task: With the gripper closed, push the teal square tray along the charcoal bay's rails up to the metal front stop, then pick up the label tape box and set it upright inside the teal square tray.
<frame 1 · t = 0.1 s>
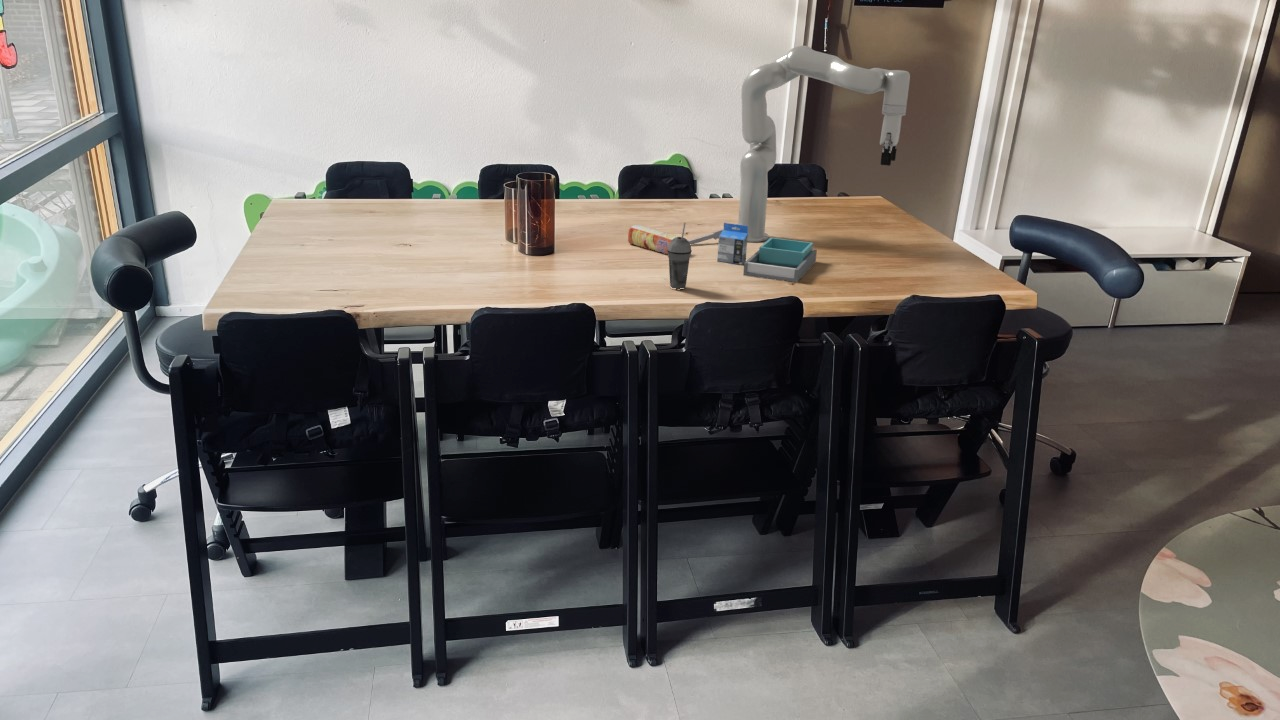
hand: (887, 162, 330), 31 cm above the table, tool pointing down, fingers open, 9 cm apart
teal square tray: (786, 252, 325), point 4 cm above the table, slide at 0.0 cm
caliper: (705, 244, 348), on the table
label tape box: (731, 262, 327), on the table
bay: (780, 268, 321), on the table
beverage cup: (677, 288, 299), on the table
snack package: (655, 250, 339), on the table
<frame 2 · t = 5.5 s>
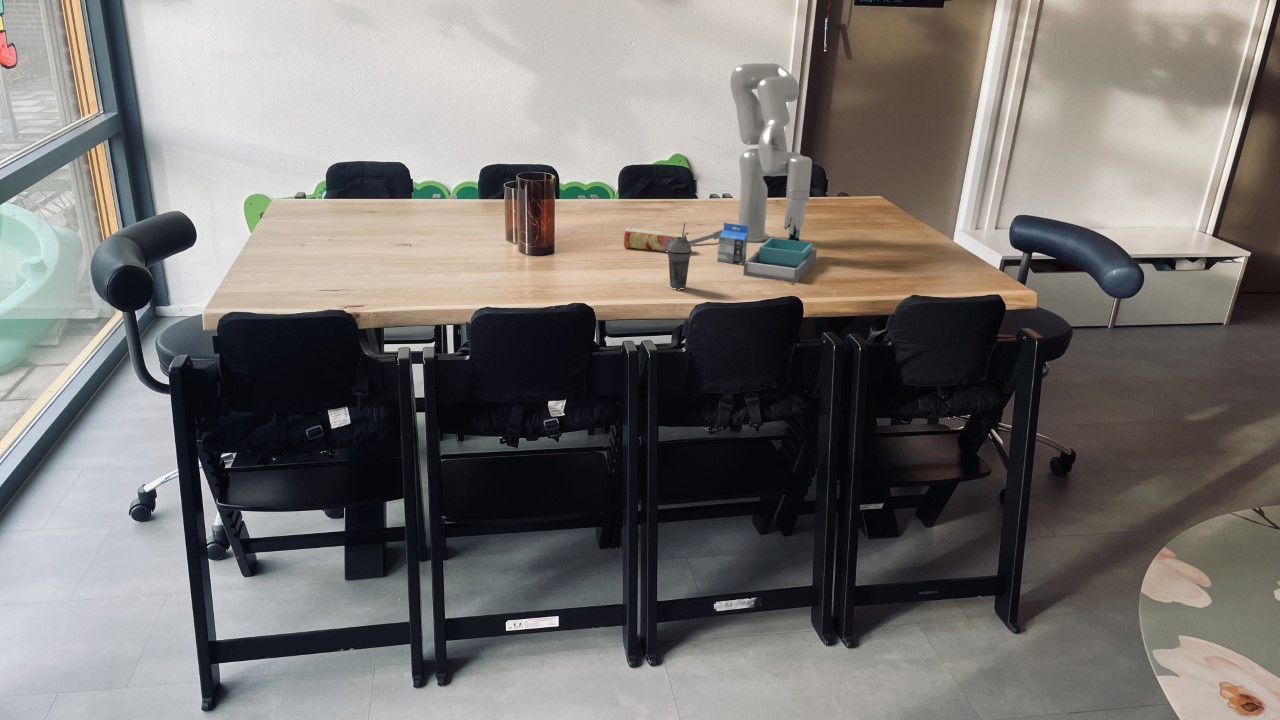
hand: (793, 248, 334), 3 cm above the table, tool pointing down, fingers closed
teal square tray: (786, 252, 325), point 4 cm above the table, slide at 0.0 cm, touching gripper
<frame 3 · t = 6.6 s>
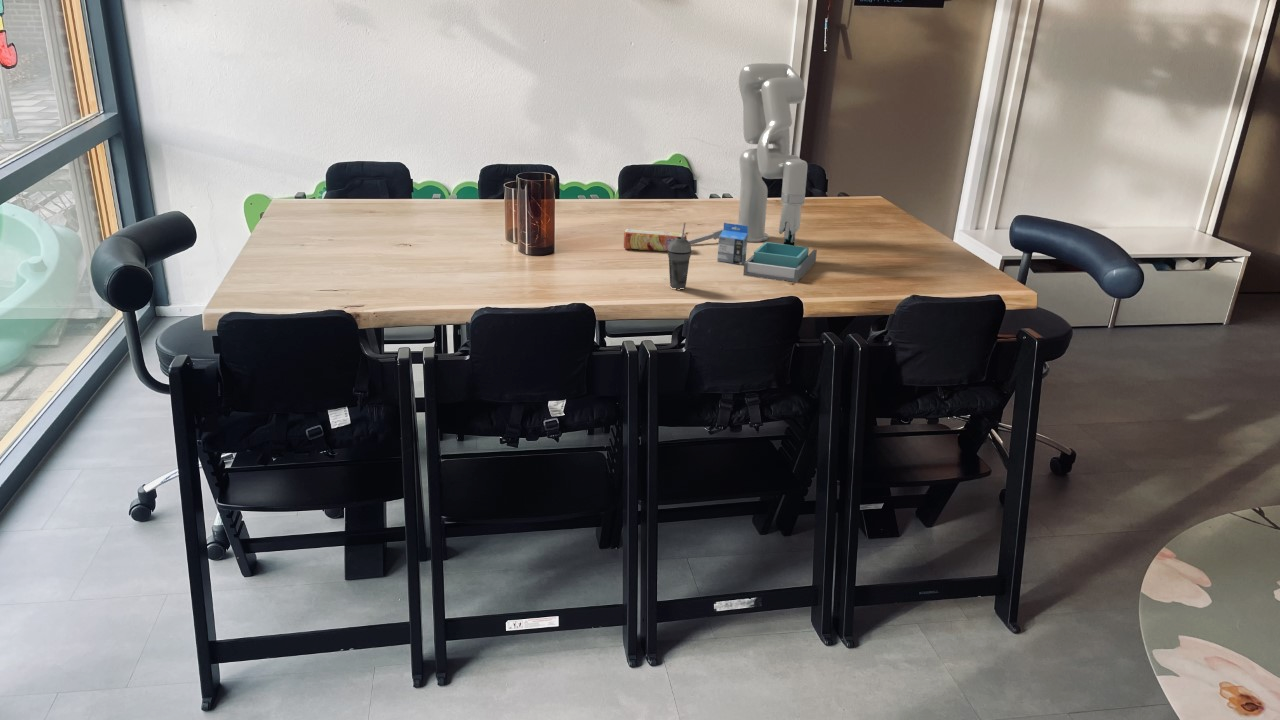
hand: (788, 253, 328), 3 cm above the table, tool pointing down, fingers closed
teal square tray: (781, 257, 320), point 4 cm above the table, slide at 6.4 cm, touching gripper
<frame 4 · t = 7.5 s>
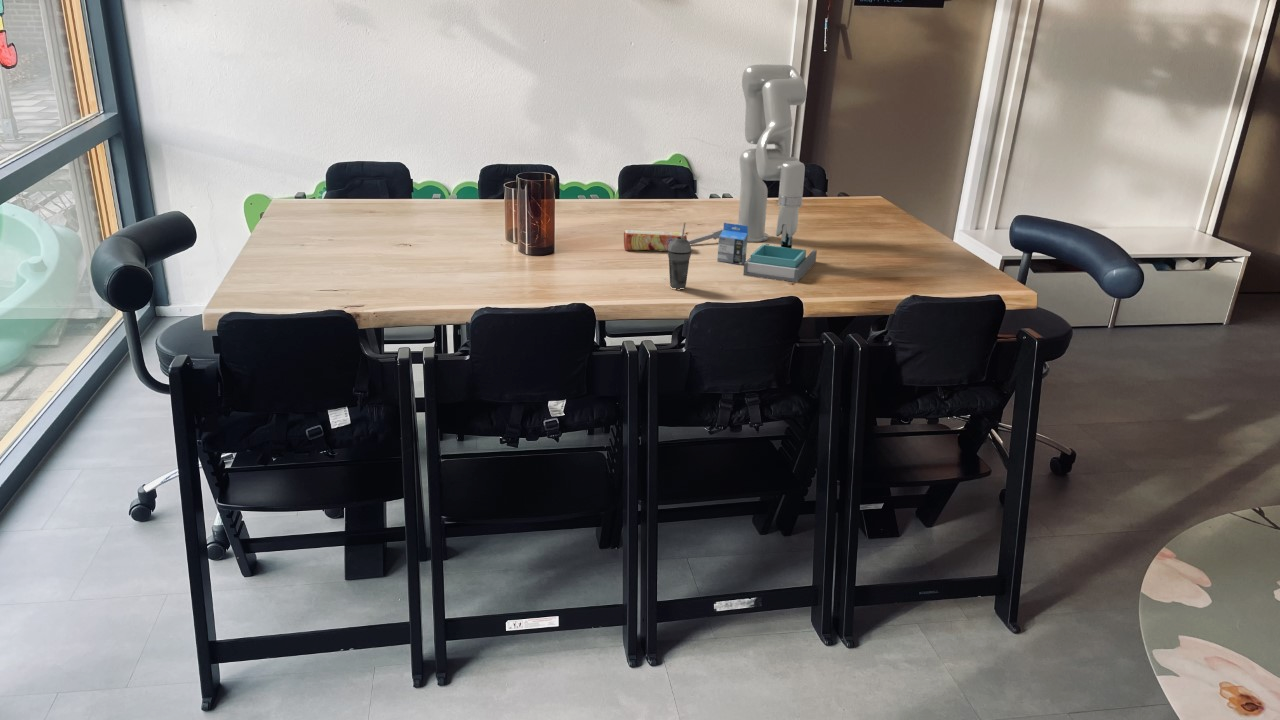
hand: (785, 256, 325), 3 cm above the table, tool pointing down, fingers closed
teal square tray: (778, 260, 317), point 4 cm above the table, slide at 10.1 cm, touching gripper
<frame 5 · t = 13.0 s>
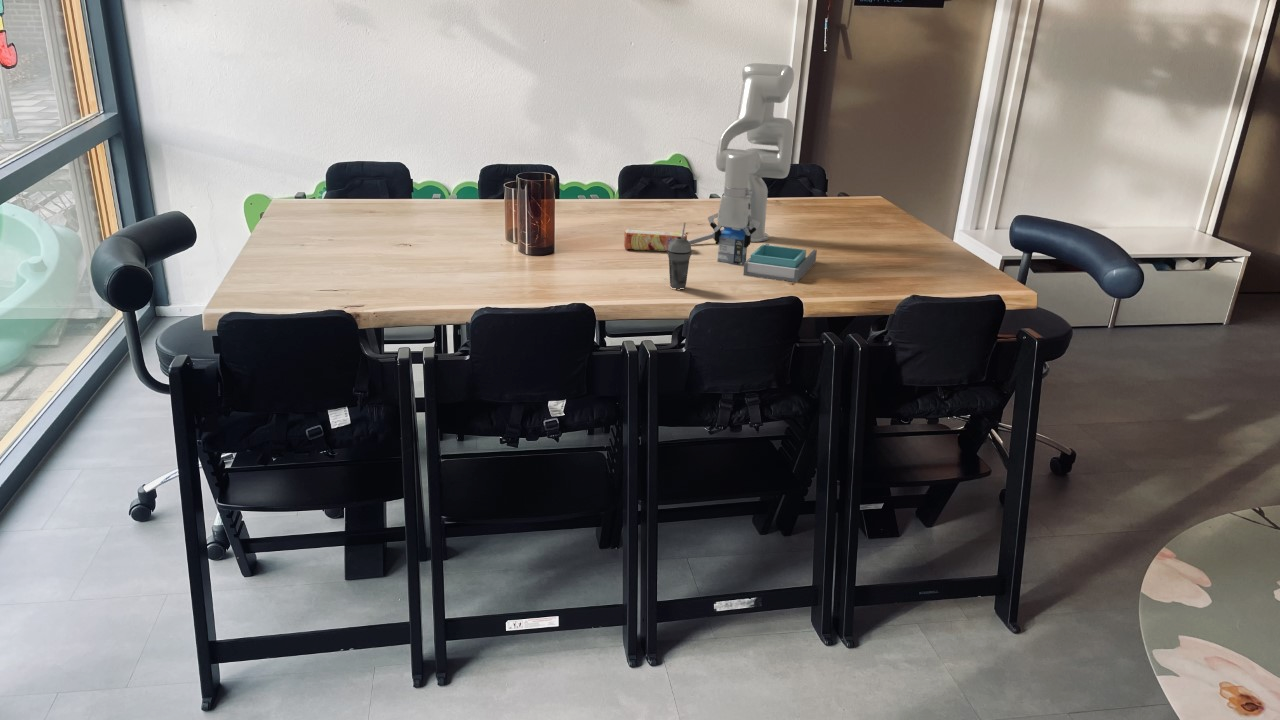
hand: (732, 245, 324), 6 cm above the table, tool pointing down, fingers open, 9 cm apart
teal square tray: (778, 259, 317), point 4 cm above the table, slide at 10.0 cm
label tape box: (731, 262, 327), on the table, touching gripper
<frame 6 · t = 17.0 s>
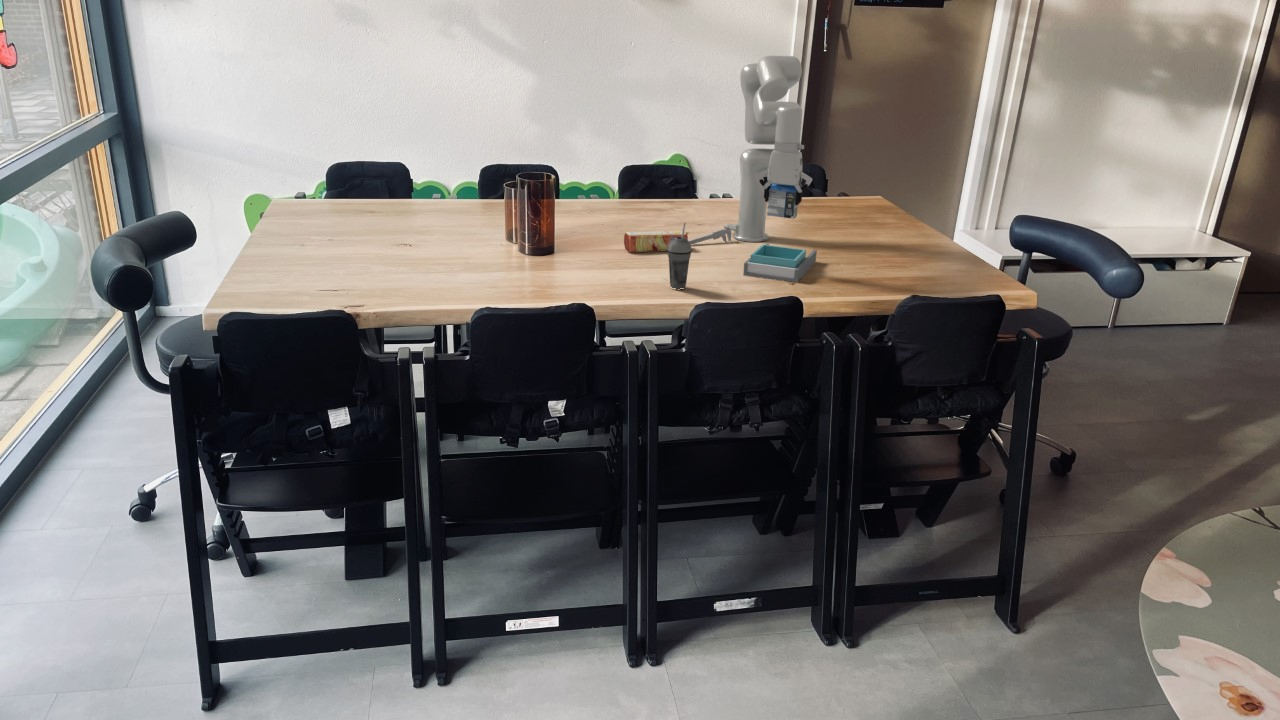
hand: (782, 202, 310), 22 cm above the table, tool pointing down, fingers closed on label tape box, 9 cm apart
label tape box: (781, 216, 313), point 17 cm above the table, touching gripper
when the fingers open (7 cm above the table, at t = 20.6 s): label tape box stays where it is, resting on teal square tray.
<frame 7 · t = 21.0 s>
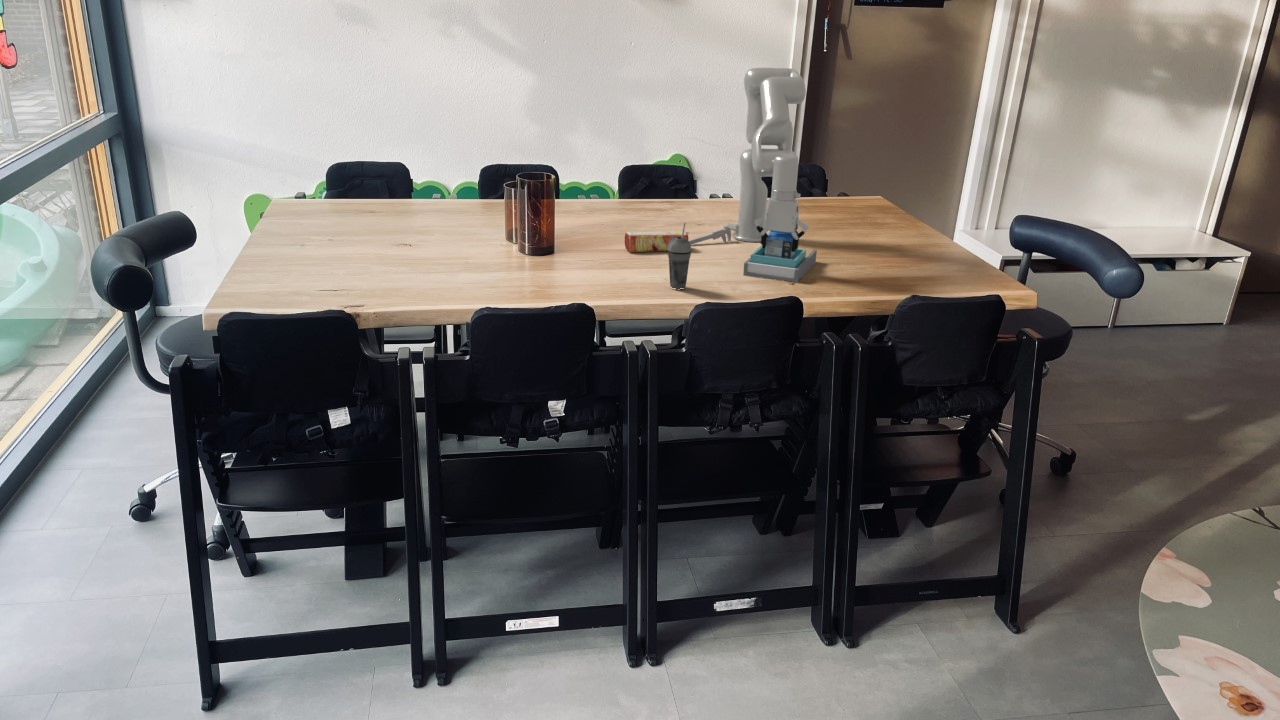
hand: (779, 248, 315), 7 cm above the table, tool pointing down, fingers open, 9 cm apart
teal square tray: (778, 259, 317), point 4 cm above the table, slide at 10.0 cm, touching label tape box
label tape box: (778, 264, 318), point 2 cm above the table, touching teal square tray
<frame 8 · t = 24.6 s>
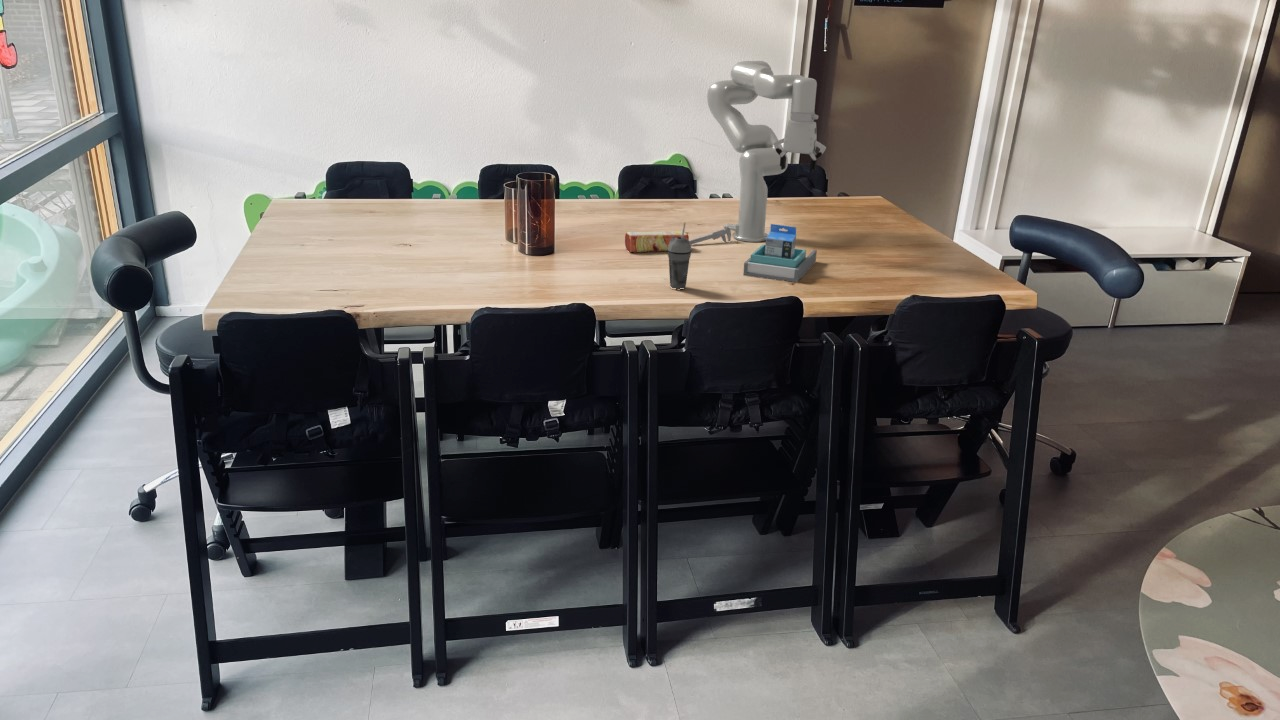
hand: (797, 170, 328), 28 cm above the table, tool pointing down, fingers open, 9 cm apart
at the end: teal square tray slide at 10.0 cm; label tape box inside the target area (1.2 cm from its centre), point 1.9 cm above the table; label tape box tilted 0° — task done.
